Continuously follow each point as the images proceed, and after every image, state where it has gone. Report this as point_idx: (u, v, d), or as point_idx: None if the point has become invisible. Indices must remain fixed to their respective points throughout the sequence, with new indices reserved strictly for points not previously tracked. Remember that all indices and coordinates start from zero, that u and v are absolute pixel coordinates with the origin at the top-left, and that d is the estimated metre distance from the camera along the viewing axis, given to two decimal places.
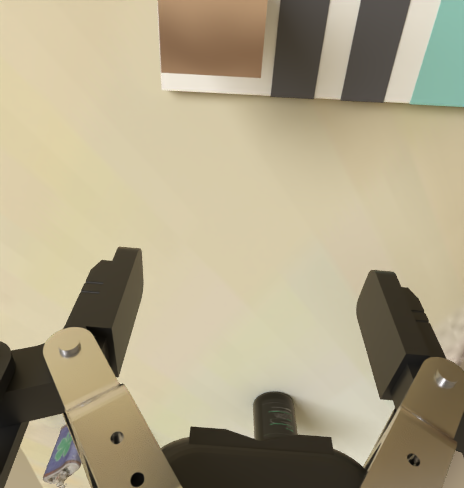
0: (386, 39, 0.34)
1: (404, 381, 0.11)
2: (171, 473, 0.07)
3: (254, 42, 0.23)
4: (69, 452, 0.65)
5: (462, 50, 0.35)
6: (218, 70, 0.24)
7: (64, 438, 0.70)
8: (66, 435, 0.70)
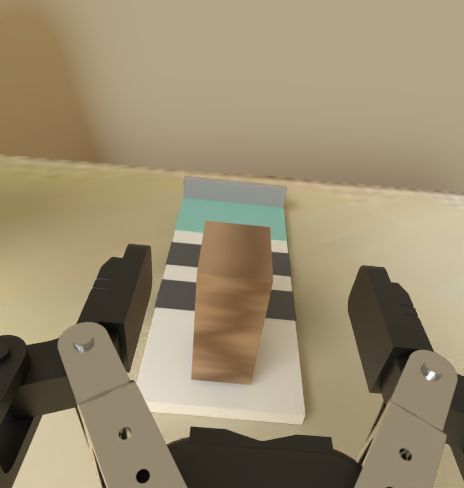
0: None
1: (392, 374, 0.11)
2: (176, 472, 0.07)
3: (245, 228, 0.31)
4: None
5: (249, 222, 0.53)
6: (267, 247, 0.29)
7: None
8: None
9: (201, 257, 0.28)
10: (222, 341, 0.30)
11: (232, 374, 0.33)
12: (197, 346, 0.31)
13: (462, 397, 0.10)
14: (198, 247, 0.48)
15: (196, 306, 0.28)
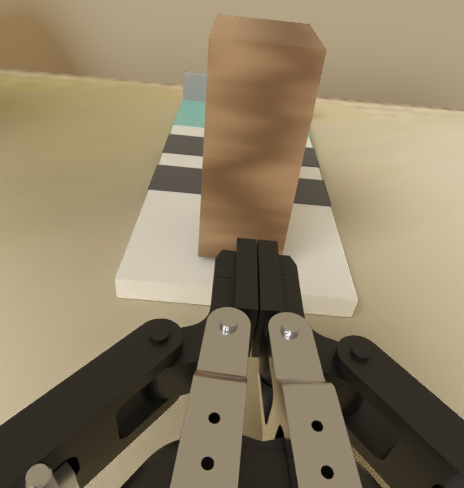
0: None
1: (263, 336, 0.12)
2: (236, 482, 0.07)
3: (274, 22, 0.21)
4: None
5: None
6: (309, 32, 0.20)
7: None
8: None
9: (214, 30, 0.18)
10: (244, 181, 0.21)
11: None
12: (207, 193, 0.22)
13: (318, 355, 0.11)
14: (202, 139, 0.39)
15: (207, 110, 0.19)
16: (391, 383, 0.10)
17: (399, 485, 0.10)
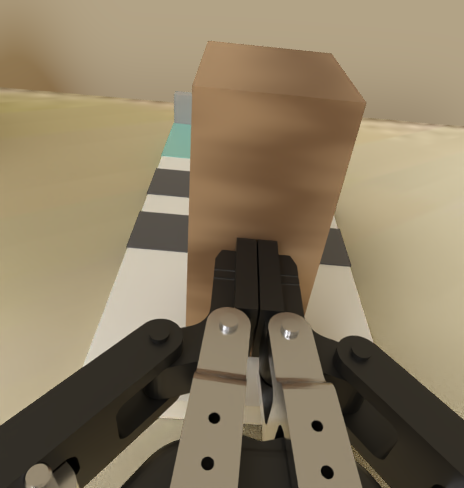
0: None
1: (263, 336, 0.12)
2: (235, 482, 0.07)
3: (285, 52, 0.16)
4: None
5: None
6: (335, 69, 0.14)
7: None
8: None
9: (201, 70, 0.13)
10: None
11: None
12: (195, 282, 0.16)
13: (318, 355, 0.11)
14: None
15: (192, 182, 0.13)
16: (391, 383, 0.10)
17: (399, 485, 0.10)
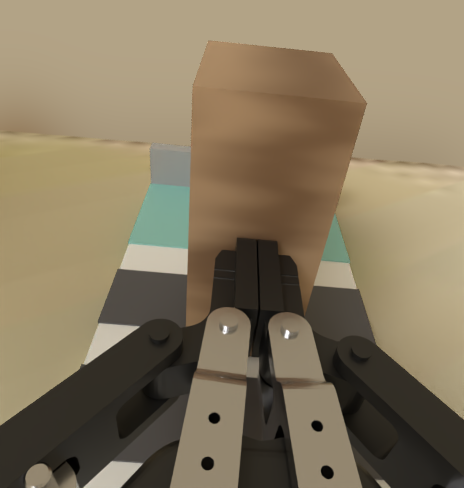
0: None
1: (263, 336, 0.12)
2: (235, 481, 0.07)
3: (285, 51, 0.16)
4: None
5: None
6: (335, 69, 0.14)
7: None
8: None
9: (202, 70, 0.13)
10: None
11: None
12: (196, 282, 0.16)
13: (318, 355, 0.11)
14: (173, 280, 0.23)
15: (192, 183, 0.13)
16: (391, 383, 0.10)
17: (399, 485, 0.10)
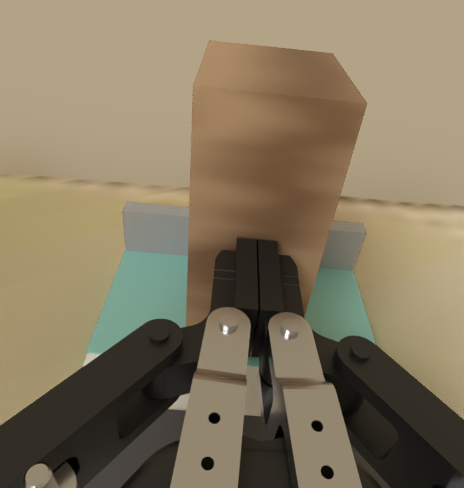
0: None
1: (263, 336, 0.12)
2: (235, 482, 0.07)
3: (286, 51, 0.16)
4: None
5: None
6: (336, 69, 0.14)
7: None
8: None
9: (202, 70, 0.13)
10: None
11: None
12: (196, 281, 0.16)
13: (318, 355, 0.11)
14: None
15: (193, 182, 0.13)
16: (391, 383, 0.10)
17: (399, 485, 0.10)
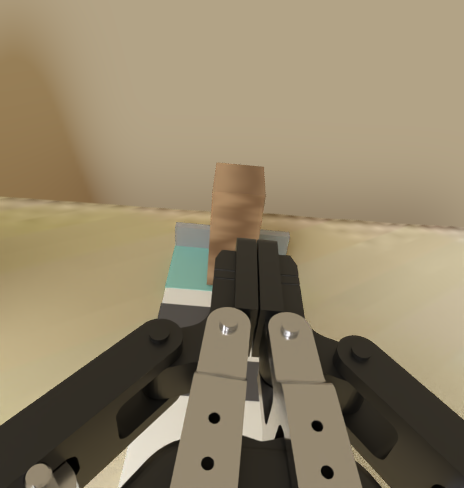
0: None
1: (263, 336, 0.12)
2: (235, 481, 0.07)
3: (245, 167, 0.42)
4: None
5: None
6: (261, 178, 0.41)
7: None
8: None
9: (215, 182, 0.39)
10: (230, 248, 0.42)
11: None
12: (211, 254, 0.42)
13: (318, 355, 0.11)
14: (191, 309, 0.43)
15: (211, 218, 0.40)
16: (391, 383, 0.10)
17: (399, 485, 0.10)
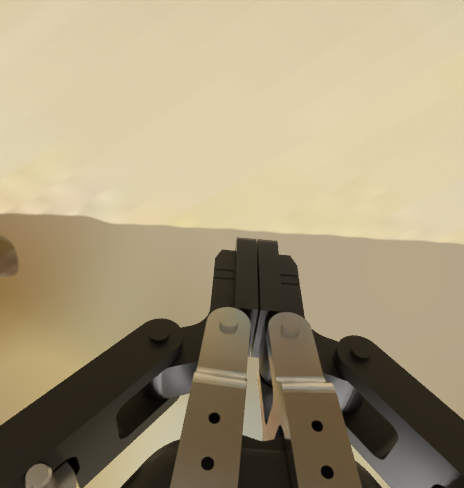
0: None
1: (263, 336, 0.12)
2: (235, 481, 0.07)
3: None
4: None
5: None
6: None
7: None
8: None
9: None
10: None
11: None
12: None
13: (318, 355, 0.11)
14: None
15: None
16: (391, 383, 0.10)
17: (399, 485, 0.10)
